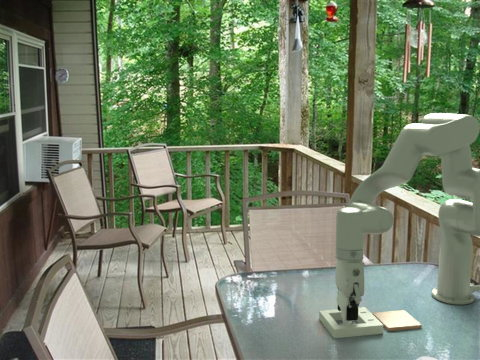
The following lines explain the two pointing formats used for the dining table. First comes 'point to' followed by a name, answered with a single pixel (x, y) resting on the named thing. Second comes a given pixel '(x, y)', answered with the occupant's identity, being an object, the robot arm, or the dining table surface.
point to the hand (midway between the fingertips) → (347, 314)
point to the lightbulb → (344, 306)
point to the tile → (397, 320)
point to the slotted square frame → (365, 326)
